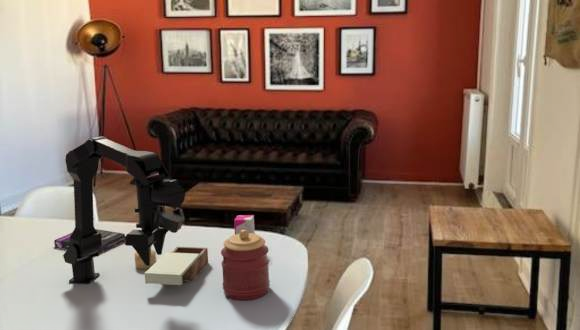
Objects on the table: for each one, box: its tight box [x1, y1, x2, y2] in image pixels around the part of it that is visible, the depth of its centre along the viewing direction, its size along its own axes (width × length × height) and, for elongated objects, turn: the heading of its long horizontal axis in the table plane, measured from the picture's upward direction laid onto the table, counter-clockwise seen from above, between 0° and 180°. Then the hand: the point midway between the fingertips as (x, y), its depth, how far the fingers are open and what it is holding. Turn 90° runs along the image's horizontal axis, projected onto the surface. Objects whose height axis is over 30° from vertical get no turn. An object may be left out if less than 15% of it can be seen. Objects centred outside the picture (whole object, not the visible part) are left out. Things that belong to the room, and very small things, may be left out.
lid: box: [144, 251, 200, 286], centre depth 157 cm, size 16×10×3 cm
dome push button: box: [133, 249, 157, 270], centre depth 171 cm, size 6×6×4 cm
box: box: [53, 228, 126, 253], centre depth 192 cm, size 14×4×20 cm
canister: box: [220, 230, 271, 301], centre depth 150 cm, size 13×13×18 cm
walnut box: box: [170, 246, 209, 282], centre depth 166 cm, size 14×10×5 cm
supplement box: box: [233, 214, 256, 235], centre depth 181 cm, size 6×6×12 cm
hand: (153, 259), depth 144 cm, fingers open, 7 cm apart
